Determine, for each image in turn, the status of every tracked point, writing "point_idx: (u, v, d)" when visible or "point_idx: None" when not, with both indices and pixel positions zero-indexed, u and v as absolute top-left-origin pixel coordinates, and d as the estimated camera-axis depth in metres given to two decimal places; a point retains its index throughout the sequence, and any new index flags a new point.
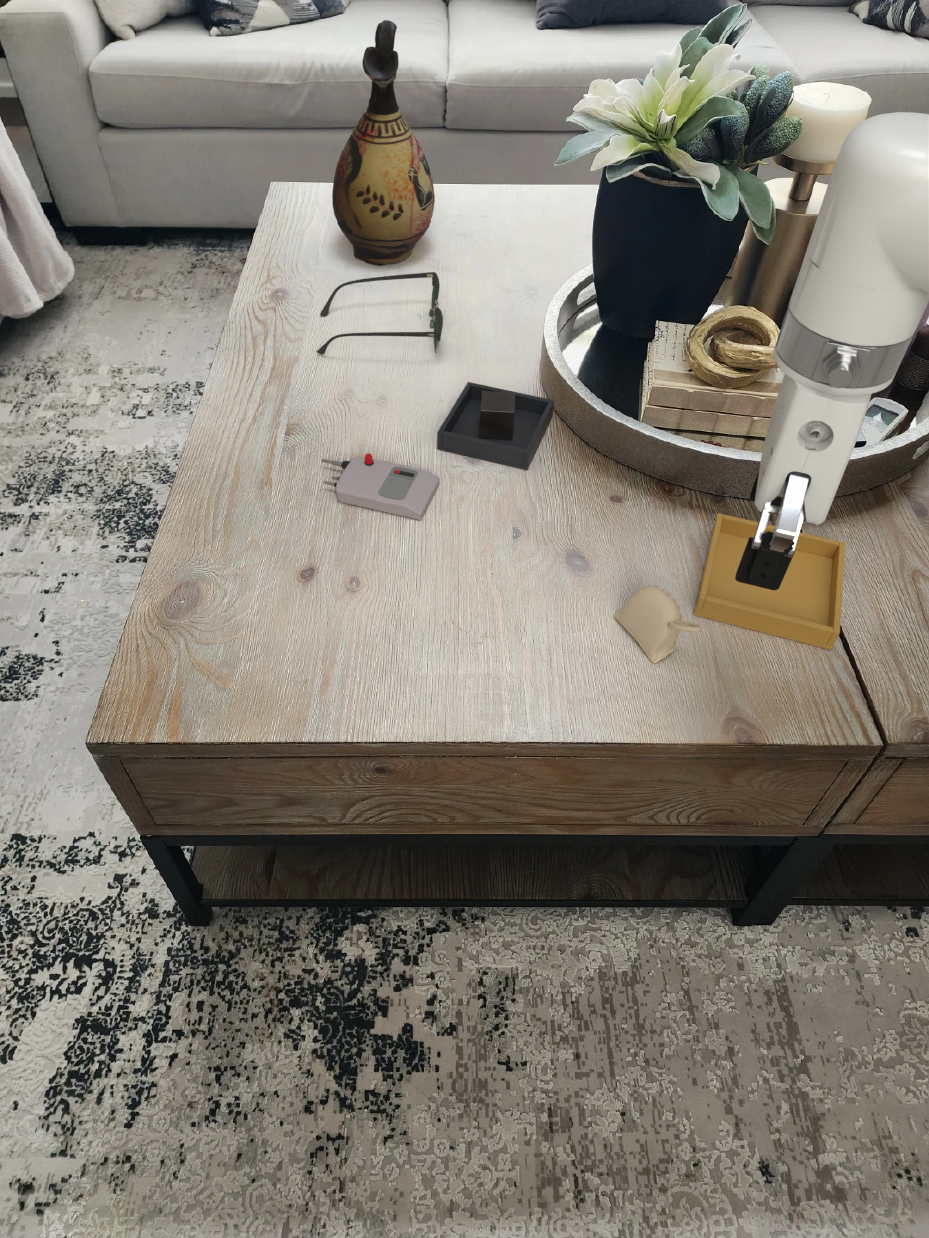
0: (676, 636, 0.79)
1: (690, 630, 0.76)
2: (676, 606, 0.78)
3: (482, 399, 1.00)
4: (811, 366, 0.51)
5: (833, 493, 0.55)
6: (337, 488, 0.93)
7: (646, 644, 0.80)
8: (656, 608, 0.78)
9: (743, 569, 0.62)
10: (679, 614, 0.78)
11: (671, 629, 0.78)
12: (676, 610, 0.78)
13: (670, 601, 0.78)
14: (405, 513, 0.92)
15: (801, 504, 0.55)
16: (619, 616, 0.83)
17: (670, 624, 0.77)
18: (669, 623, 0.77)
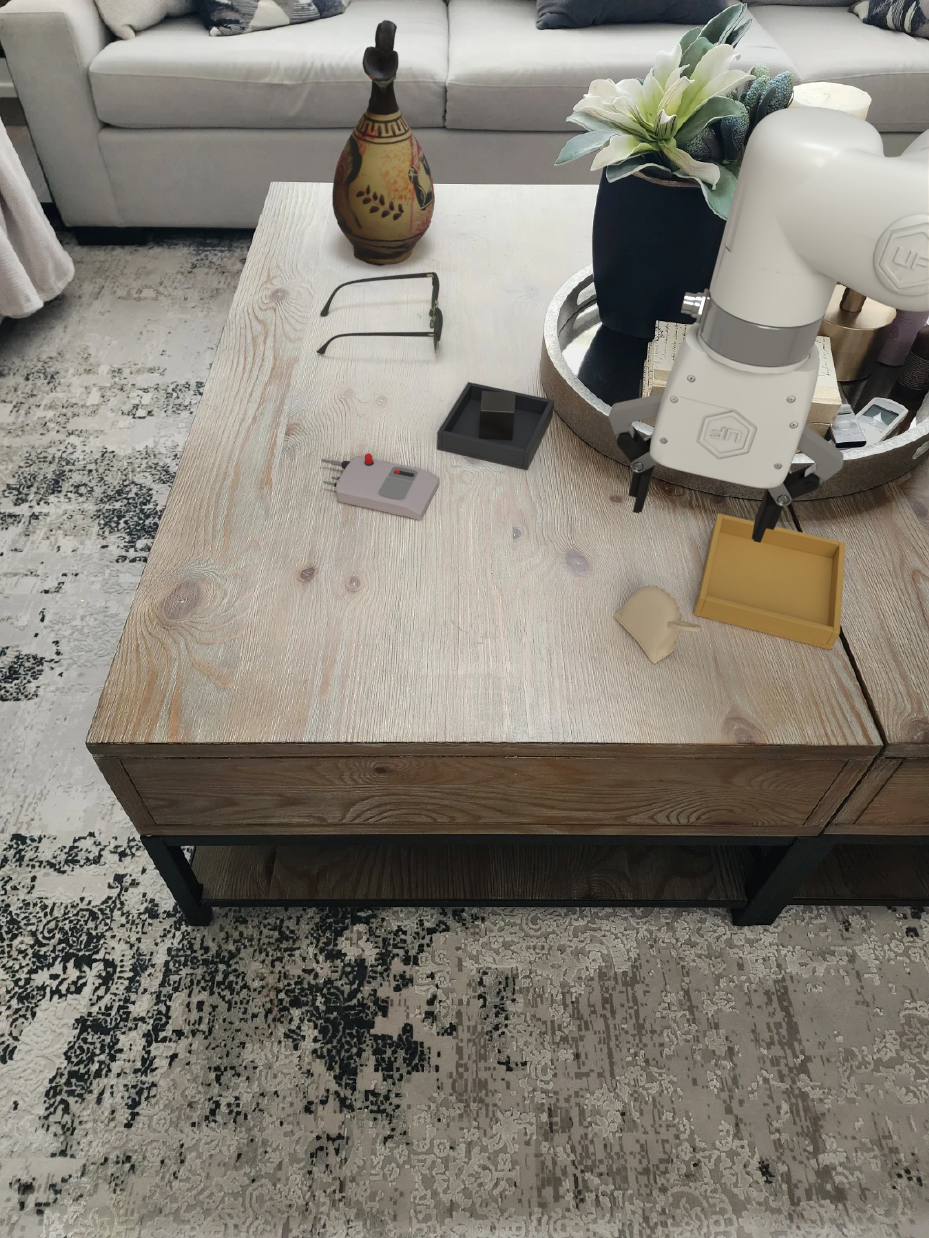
0: (676, 636, 0.79)
1: (690, 630, 0.76)
2: (676, 606, 0.78)
3: (482, 399, 1.00)
4: None
5: (657, 425, 0.62)
6: (337, 488, 0.93)
7: (646, 644, 0.80)
8: (656, 608, 0.78)
9: None
10: (679, 614, 0.78)
11: (671, 629, 0.78)
12: (676, 610, 0.78)
13: (670, 601, 0.78)
14: (405, 513, 0.92)
15: (637, 406, 0.63)
16: (619, 616, 0.83)
17: (670, 624, 0.77)
18: (669, 623, 0.77)
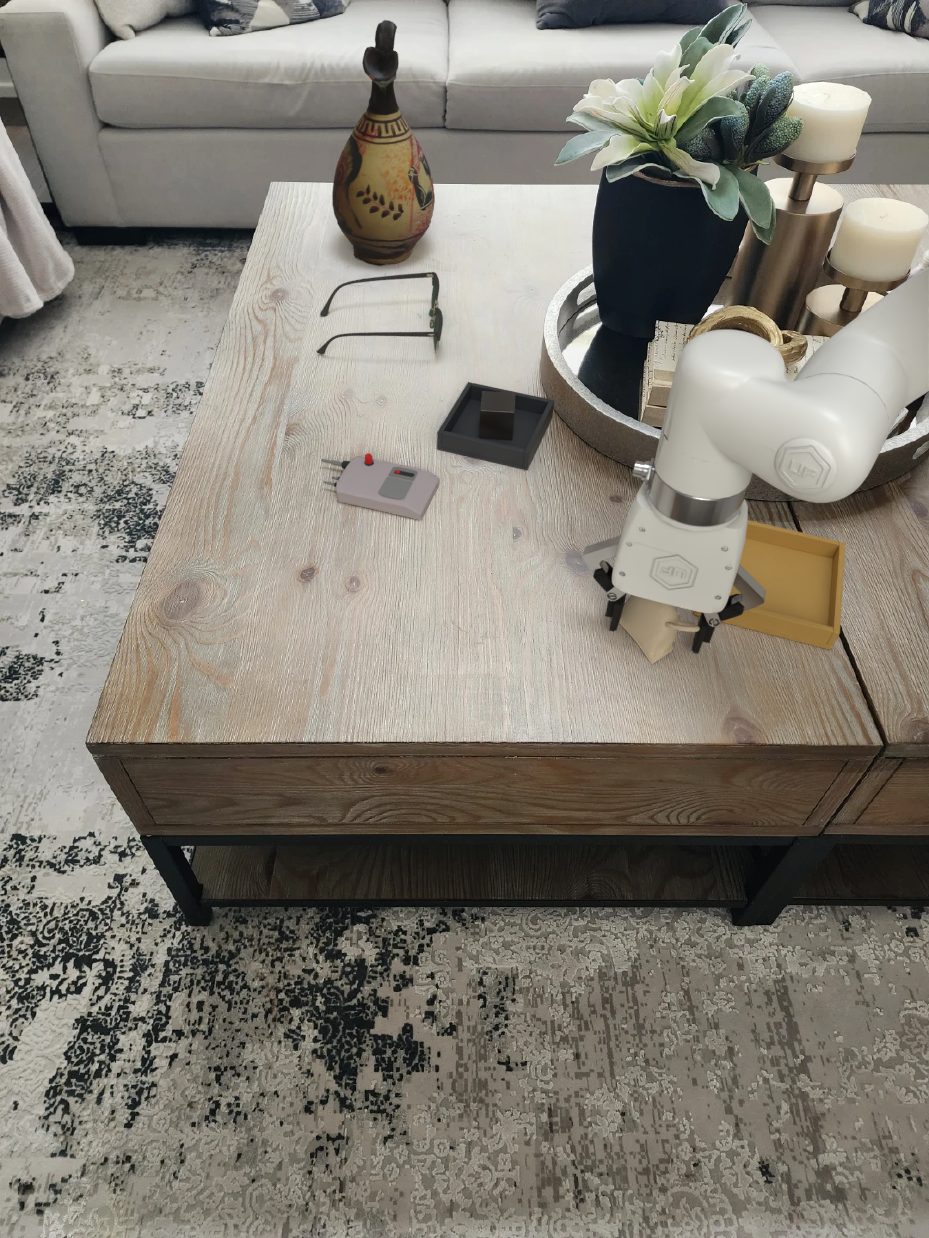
0: (674, 636, 0.79)
1: (688, 630, 0.76)
2: (674, 606, 0.78)
3: (482, 399, 1.00)
4: None
5: (616, 561, 0.73)
6: (337, 488, 0.93)
7: (644, 644, 0.80)
8: (654, 608, 0.78)
9: None
10: (677, 614, 0.78)
11: (669, 629, 0.78)
12: (674, 610, 0.78)
13: None
14: (405, 513, 0.92)
15: (602, 548, 0.75)
16: None
17: (668, 624, 0.77)
18: (667, 623, 0.77)
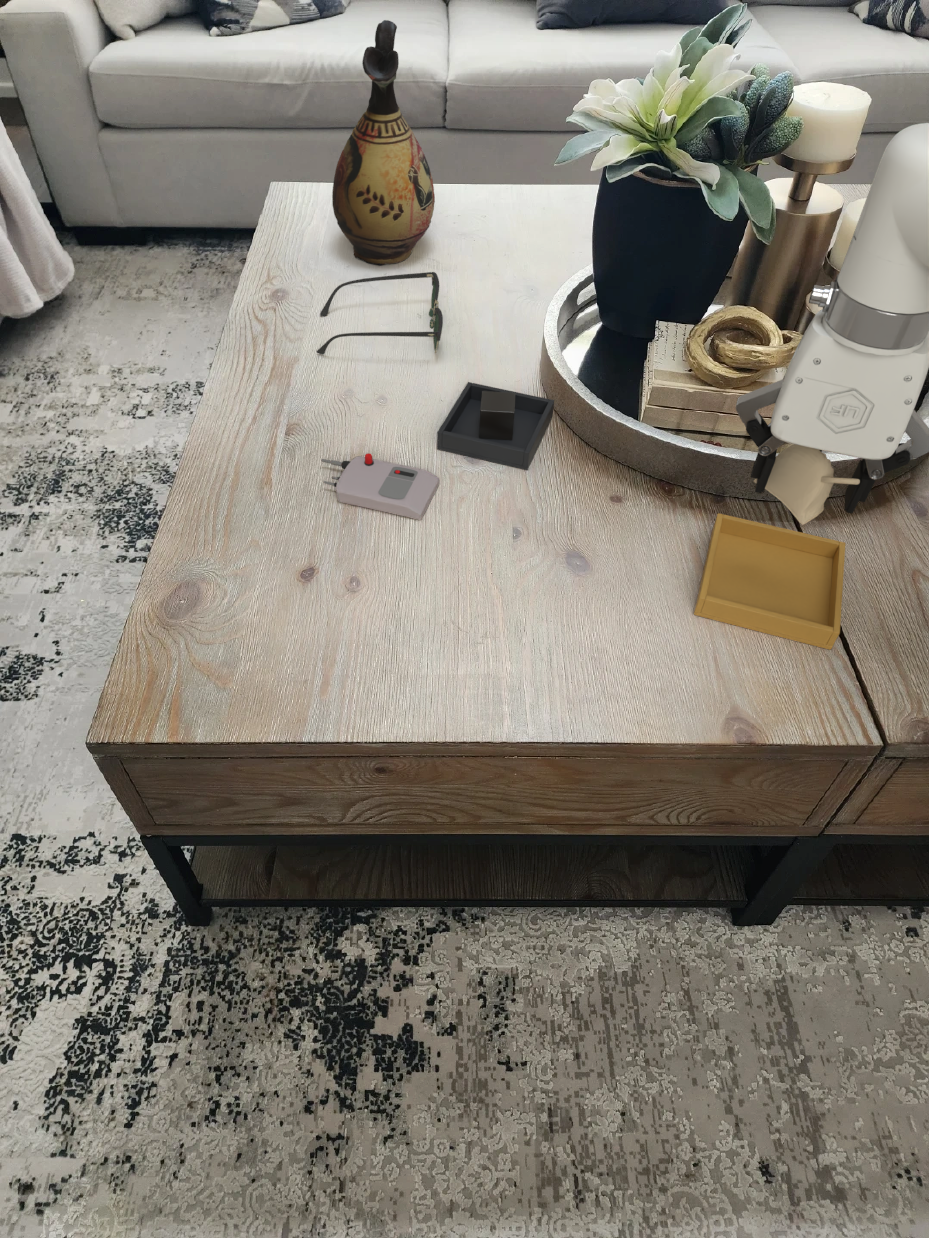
0: (827, 494, 0.75)
1: (849, 482, 0.72)
2: (829, 461, 0.74)
3: (482, 399, 1.00)
4: None
5: (780, 404, 0.69)
6: (337, 488, 0.93)
7: (794, 504, 0.76)
8: (808, 464, 0.74)
9: None
10: (832, 470, 0.74)
11: (824, 485, 0.74)
12: (829, 465, 0.74)
13: (823, 456, 0.74)
14: (405, 513, 0.92)
15: (761, 394, 0.71)
16: None
17: (826, 478, 0.73)
18: (824, 477, 0.73)
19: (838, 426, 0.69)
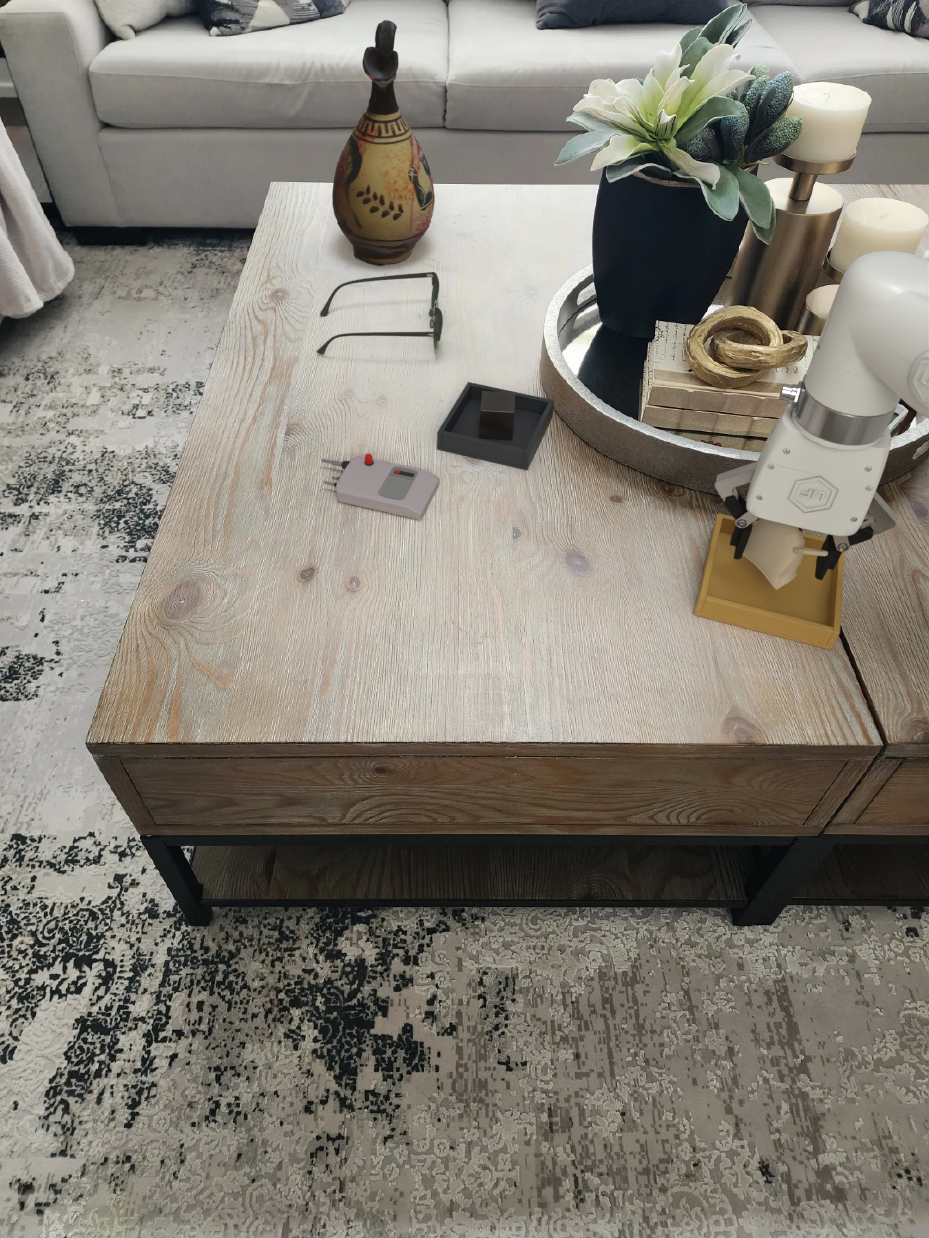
0: (799, 562, 0.82)
1: (818, 554, 0.79)
2: (800, 533, 0.81)
3: (482, 399, 1.00)
4: None
5: (754, 485, 0.76)
6: (337, 488, 0.93)
7: (769, 571, 0.83)
8: (781, 535, 0.81)
9: None
10: (803, 541, 0.81)
11: (796, 555, 0.81)
12: (801, 536, 0.81)
13: (795, 528, 0.81)
14: (405, 513, 0.92)
15: (737, 474, 0.78)
16: None
17: (797, 549, 0.80)
18: (795, 548, 0.80)
19: (807, 506, 0.75)
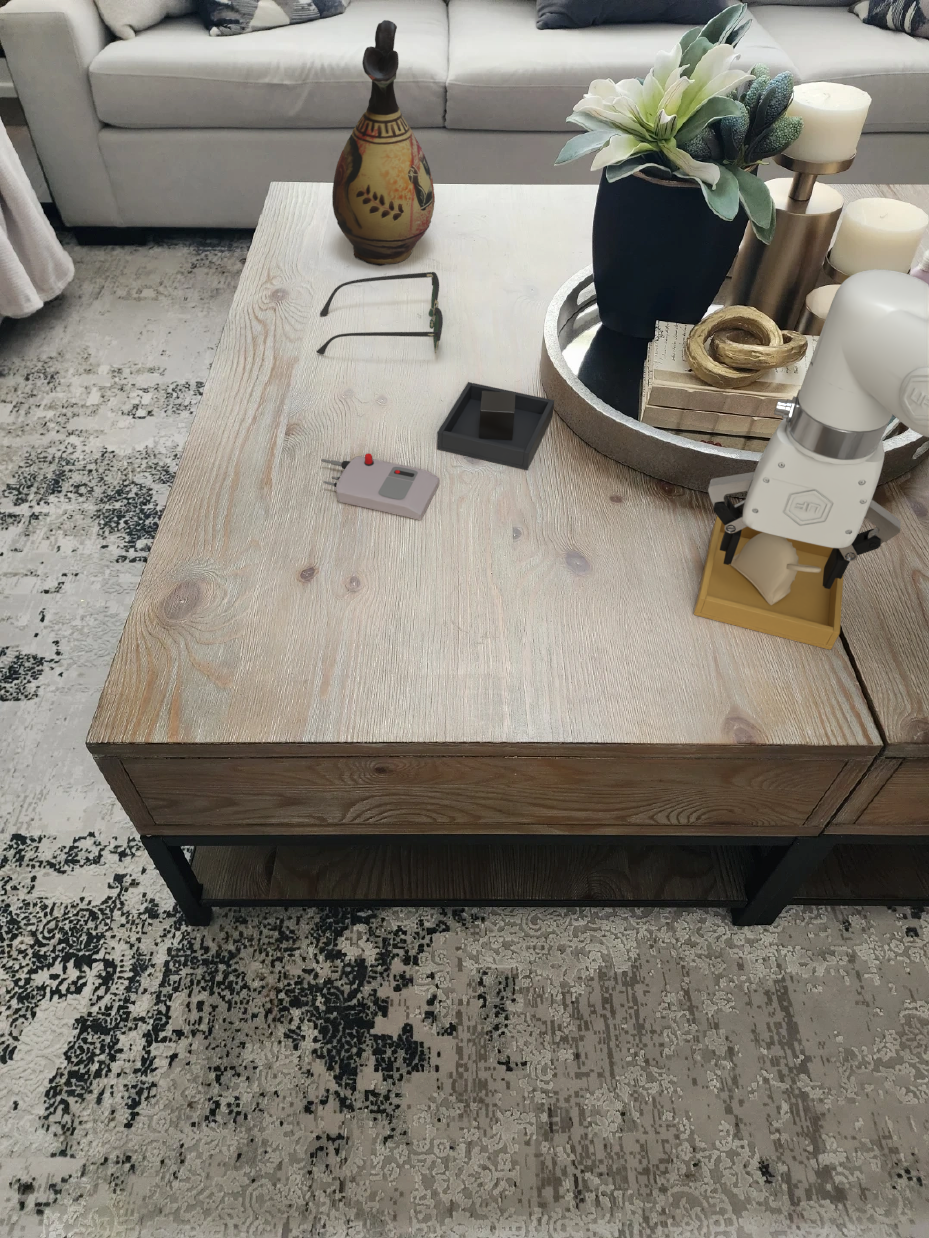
0: (793, 578, 0.84)
1: (811, 571, 0.80)
2: (794, 550, 0.83)
3: (482, 399, 1.00)
4: None
5: (750, 499, 0.77)
6: (337, 488, 0.93)
7: (763, 586, 0.84)
8: (775, 552, 0.83)
9: None
10: (797, 557, 0.83)
11: (790, 571, 0.82)
12: (794, 553, 0.83)
13: (789, 545, 0.83)
14: (405, 513, 0.92)
15: (732, 482, 0.79)
16: (734, 561, 0.87)
17: (790, 566, 0.82)
18: (789, 565, 0.82)
19: (802, 519, 0.76)
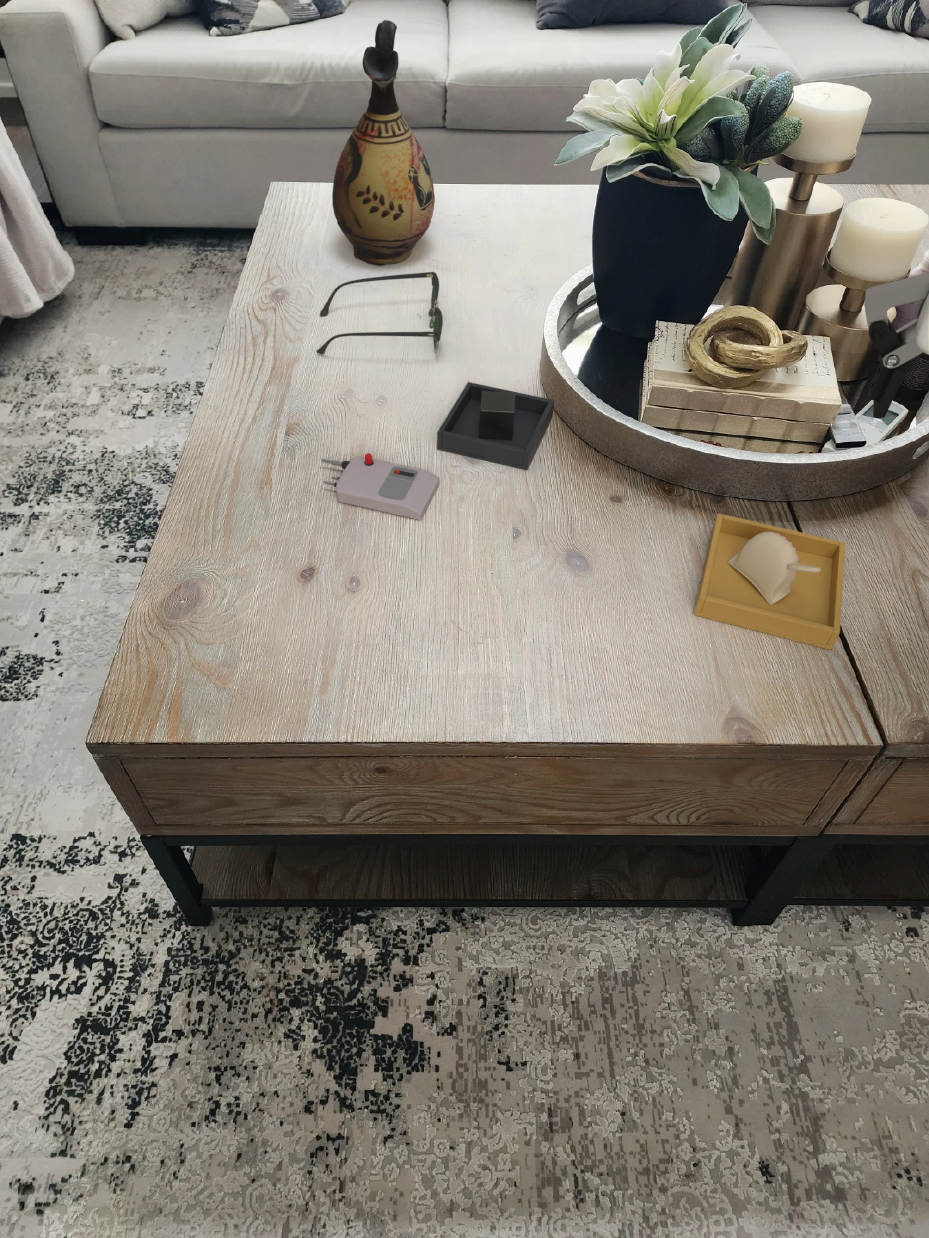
0: (793, 578, 0.84)
1: (811, 571, 0.80)
2: (794, 550, 0.83)
3: (482, 399, 1.00)
4: None
5: None
6: (337, 488, 0.93)
7: (763, 586, 0.84)
8: (775, 552, 0.83)
9: None
10: (797, 557, 0.83)
11: (790, 571, 0.82)
12: (794, 553, 0.83)
13: (789, 545, 0.83)
14: (405, 513, 0.92)
15: (903, 286, 0.55)
16: (734, 561, 0.87)
17: (790, 566, 0.82)
18: (789, 565, 0.82)
19: None
